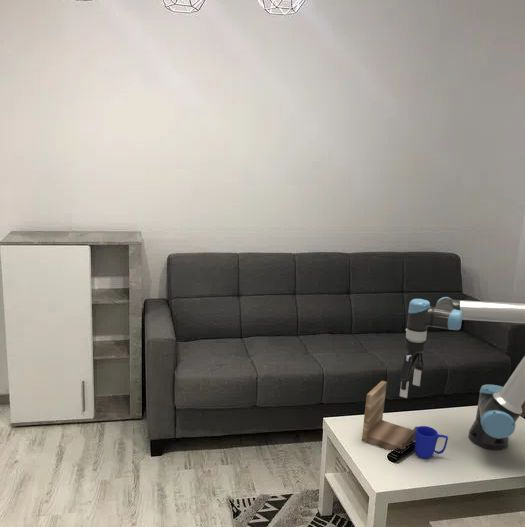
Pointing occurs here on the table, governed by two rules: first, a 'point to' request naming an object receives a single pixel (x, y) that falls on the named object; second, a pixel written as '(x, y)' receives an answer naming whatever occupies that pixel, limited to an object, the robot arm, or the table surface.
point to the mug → (427, 441)
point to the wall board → (374, 409)
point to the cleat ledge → (390, 436)
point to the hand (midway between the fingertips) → (409, 390)
